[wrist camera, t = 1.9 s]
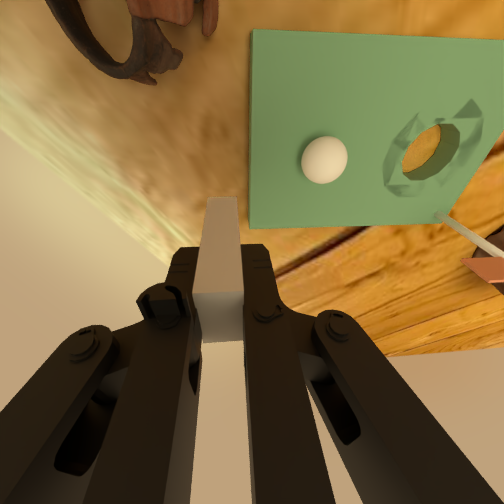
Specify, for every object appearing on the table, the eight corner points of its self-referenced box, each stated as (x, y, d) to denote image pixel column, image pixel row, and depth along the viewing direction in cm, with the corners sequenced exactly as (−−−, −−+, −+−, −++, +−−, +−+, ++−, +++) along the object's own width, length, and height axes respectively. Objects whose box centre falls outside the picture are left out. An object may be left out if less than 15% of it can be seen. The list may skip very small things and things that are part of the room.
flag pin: (393, 202, 29) (494, 280, 18) (427, 201, 29) (546, 277, 18) (391, 207, 29) (487, 286, 18) (424, 206, 30) (538, 283, 19)
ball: (300, 131, 20) (313, 142, 17) (342, 131, 20) (362, 142, 17) (293, 175, 23) (304, 191, 20) (331, 174, 23) (347, 190, 20)
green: (248, 218, 28) (249, 229, 26) (250, 33, 18) (252, 28, 16) (427, 213, 30) (441, 223, 28) (528, 45, 20) (561, 42, 18)
